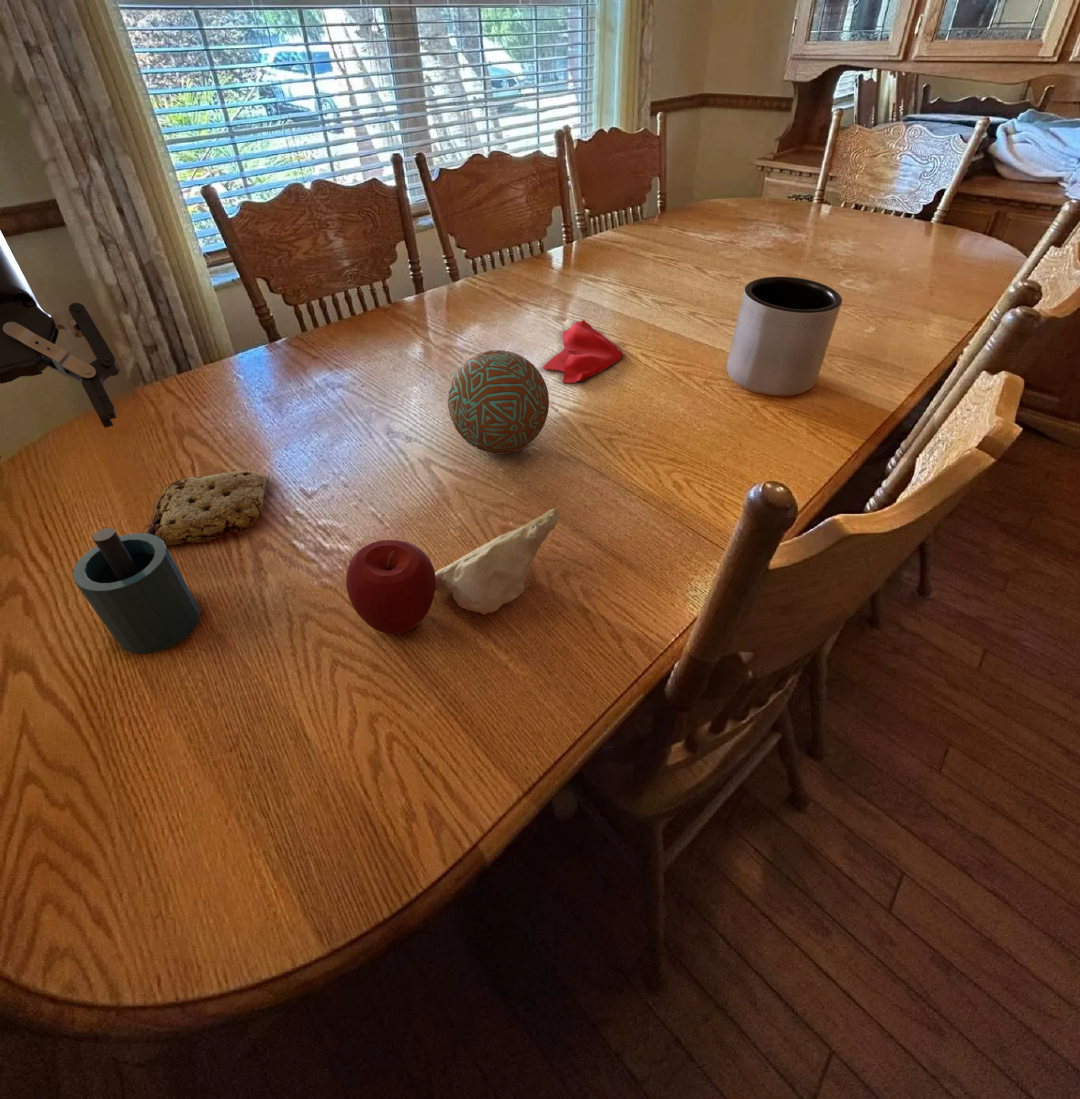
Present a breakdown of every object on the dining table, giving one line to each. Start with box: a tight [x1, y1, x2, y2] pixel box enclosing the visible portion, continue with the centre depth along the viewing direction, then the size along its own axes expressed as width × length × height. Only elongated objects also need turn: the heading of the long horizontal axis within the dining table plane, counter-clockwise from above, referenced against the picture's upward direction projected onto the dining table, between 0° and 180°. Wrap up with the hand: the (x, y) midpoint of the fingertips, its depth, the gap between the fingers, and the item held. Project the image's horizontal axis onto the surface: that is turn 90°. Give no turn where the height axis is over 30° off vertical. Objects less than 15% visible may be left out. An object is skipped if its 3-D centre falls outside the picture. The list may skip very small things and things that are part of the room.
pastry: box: [145, 469, 267, 547], centre depth 86 cm, size 17×17×3 cm
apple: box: [345, 539, 436, 635], centre depth 69 cm, size 10×10×10 cm
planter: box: [726, 276, 843, 397], centre depth 110 cm, size 16×16×16 cm
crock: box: [72, 532, 201, 655], centre depth 68 cm, size 9×9×10 cm
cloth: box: [542, 319, 624, 384], centre depth 122 cm, size 26×14×2 cm, turn 164°
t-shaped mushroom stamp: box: [92, 527, 139, 581], centre depth 67 cm, size 4×3×13 cm
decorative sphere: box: [447, 349, 550, 455], centre depth 94 cm, size 15×15×15 cm
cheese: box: [435, 507, 561, 615], centre depth 74 cm, size 15×7×15 cm
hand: (53, 440), depth 54 cm, fingers open, 8 cm apart
